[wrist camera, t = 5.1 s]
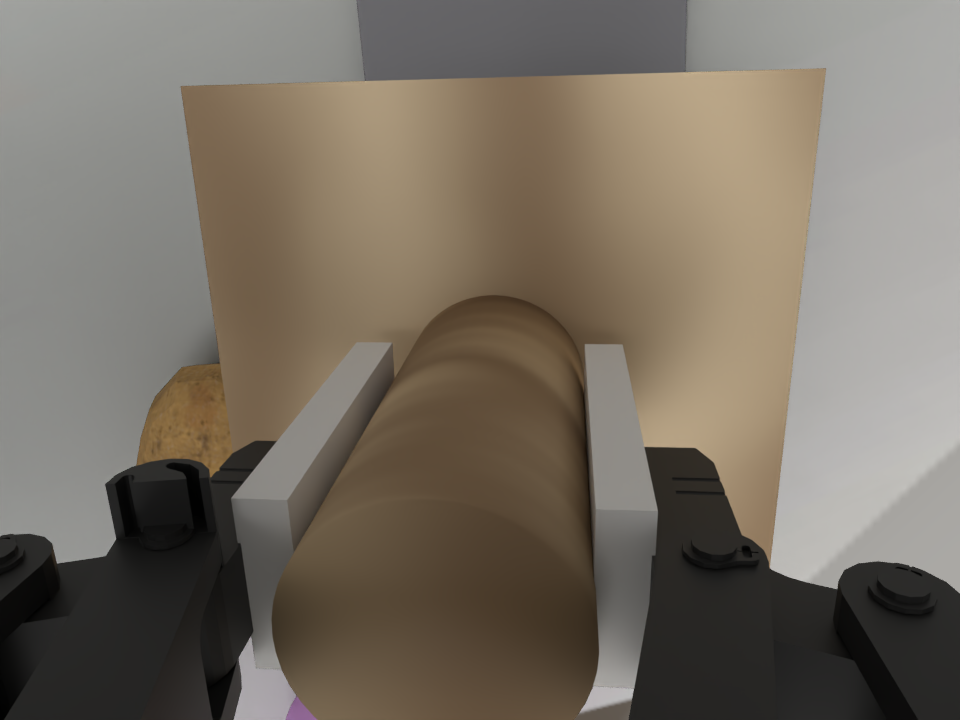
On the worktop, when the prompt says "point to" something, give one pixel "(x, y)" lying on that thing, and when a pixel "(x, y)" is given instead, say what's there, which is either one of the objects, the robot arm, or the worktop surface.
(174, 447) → the potato
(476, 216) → the lid
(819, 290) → the worktop surface
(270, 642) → the robot arm
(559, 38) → the mat
